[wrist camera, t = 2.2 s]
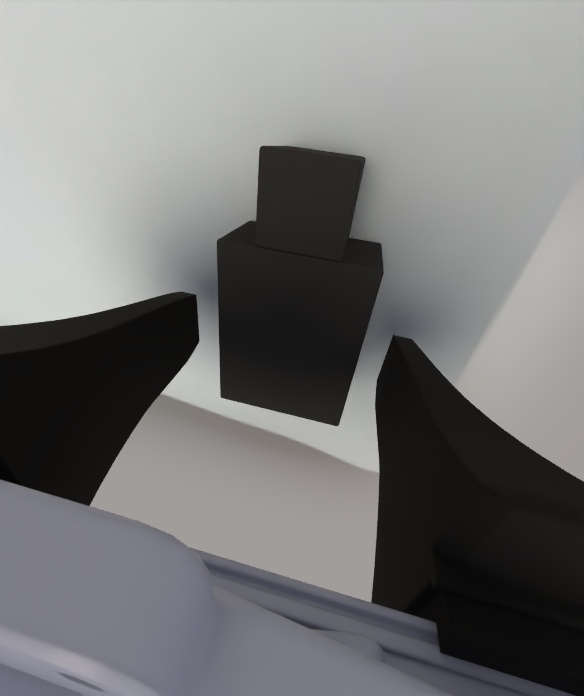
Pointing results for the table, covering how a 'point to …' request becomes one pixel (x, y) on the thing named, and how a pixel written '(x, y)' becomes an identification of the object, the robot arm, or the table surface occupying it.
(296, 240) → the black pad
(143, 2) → the table surface
